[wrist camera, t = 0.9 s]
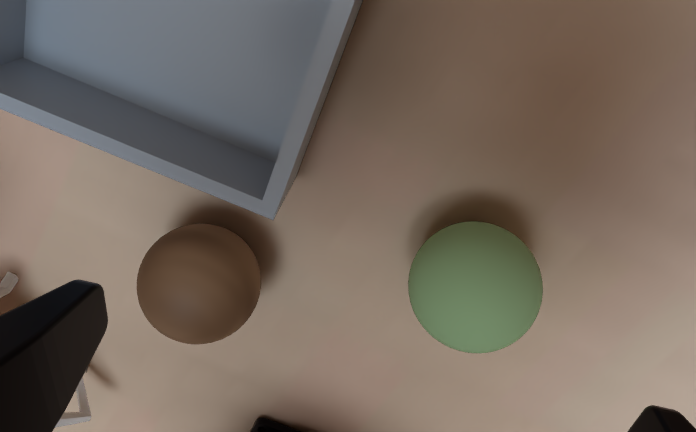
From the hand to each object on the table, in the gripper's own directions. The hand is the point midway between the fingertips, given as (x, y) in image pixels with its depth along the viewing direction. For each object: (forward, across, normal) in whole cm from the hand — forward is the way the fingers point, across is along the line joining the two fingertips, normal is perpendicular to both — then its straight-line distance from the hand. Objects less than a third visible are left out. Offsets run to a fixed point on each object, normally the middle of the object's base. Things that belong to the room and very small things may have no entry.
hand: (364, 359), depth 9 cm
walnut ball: (+12, +7, +9) cm, 17 cm away
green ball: (+13, -4, +6) cm, 15 cm away
